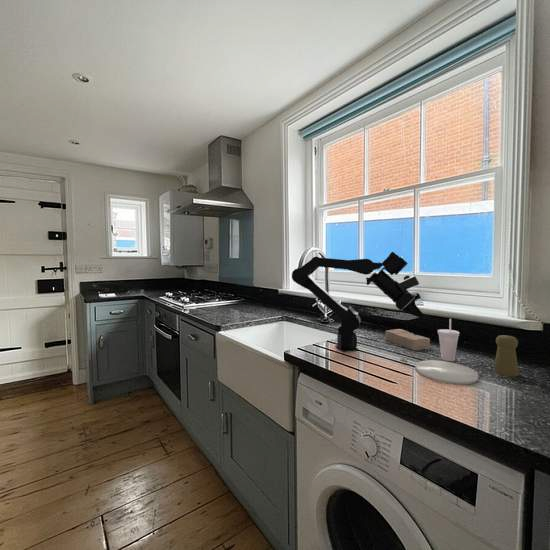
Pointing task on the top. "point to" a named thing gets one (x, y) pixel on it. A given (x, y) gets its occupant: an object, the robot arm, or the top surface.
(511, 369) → the cork
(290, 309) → the top surface
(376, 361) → the top surface
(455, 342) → the smoothie
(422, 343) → the brick
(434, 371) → the plate
